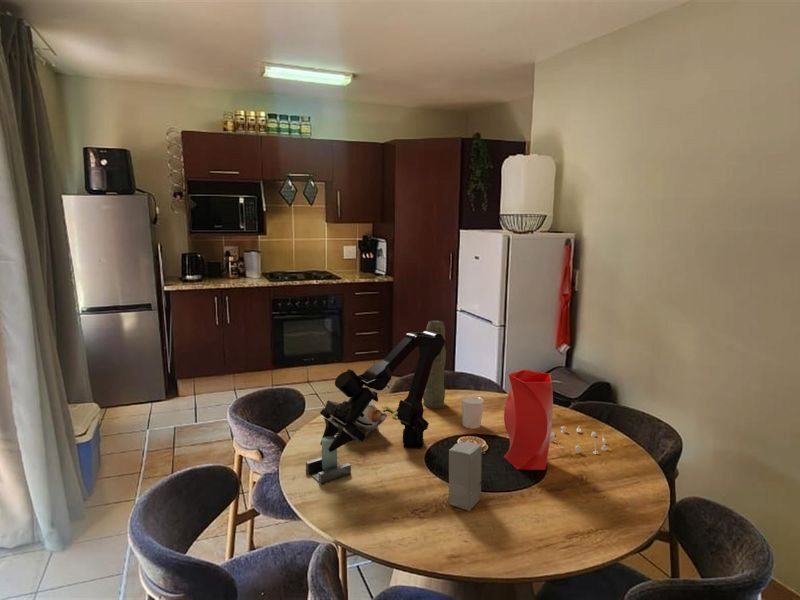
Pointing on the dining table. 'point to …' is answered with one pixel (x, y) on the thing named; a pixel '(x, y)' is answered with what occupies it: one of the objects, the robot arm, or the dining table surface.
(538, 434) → the vase
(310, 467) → the rail dock
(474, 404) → the white cup
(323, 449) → the teal peg
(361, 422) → the lucky cat figurine
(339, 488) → the dining table surface
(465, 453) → the skincare box
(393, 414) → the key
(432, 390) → the grey green tall pillar
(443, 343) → the robot arm
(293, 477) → the dining table surface
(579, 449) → the game piece set
